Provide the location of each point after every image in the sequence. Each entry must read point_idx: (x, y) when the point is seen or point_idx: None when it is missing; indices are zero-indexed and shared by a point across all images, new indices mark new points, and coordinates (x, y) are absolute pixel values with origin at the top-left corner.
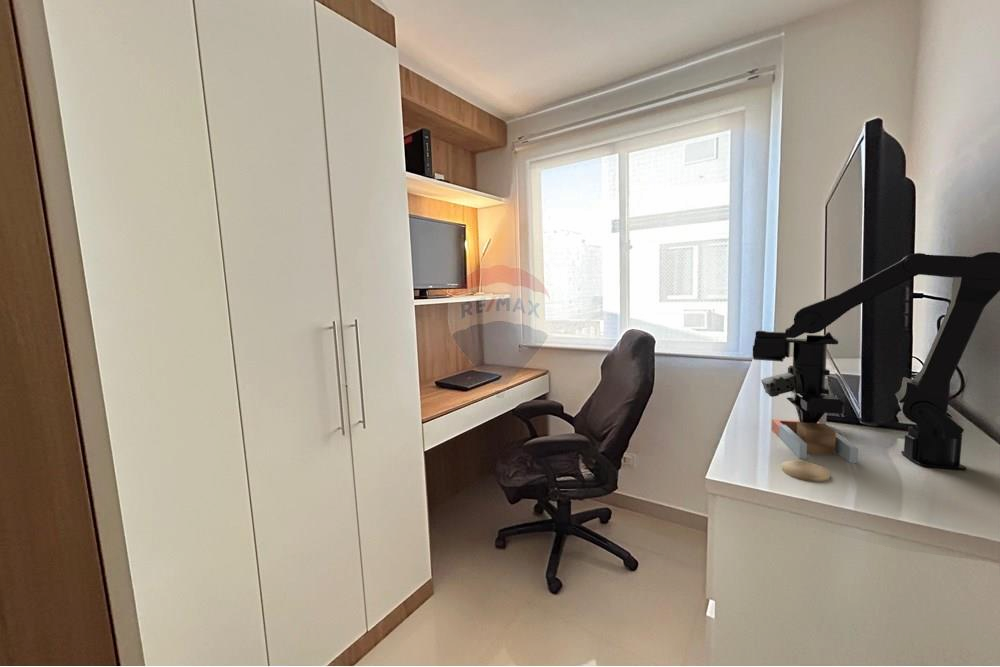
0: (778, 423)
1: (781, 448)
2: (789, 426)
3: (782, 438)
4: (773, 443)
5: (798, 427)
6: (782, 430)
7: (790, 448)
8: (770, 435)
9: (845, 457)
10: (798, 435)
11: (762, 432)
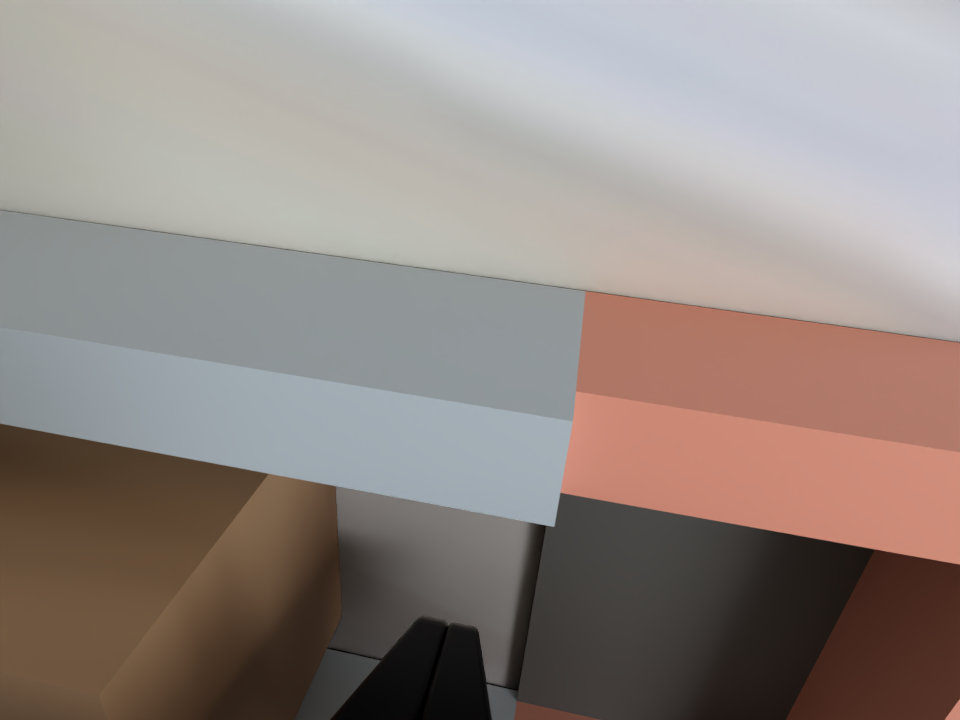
0: (826, 475)
1: (53, 98)
2: (897, 624)
3: (407, 281)
4: (245, 57)
5: (88, 586)
6: (375, 348)
7: (63, 222)
8: (686, 183)
9: None
10: (177, 473)
11: (890, 89)
